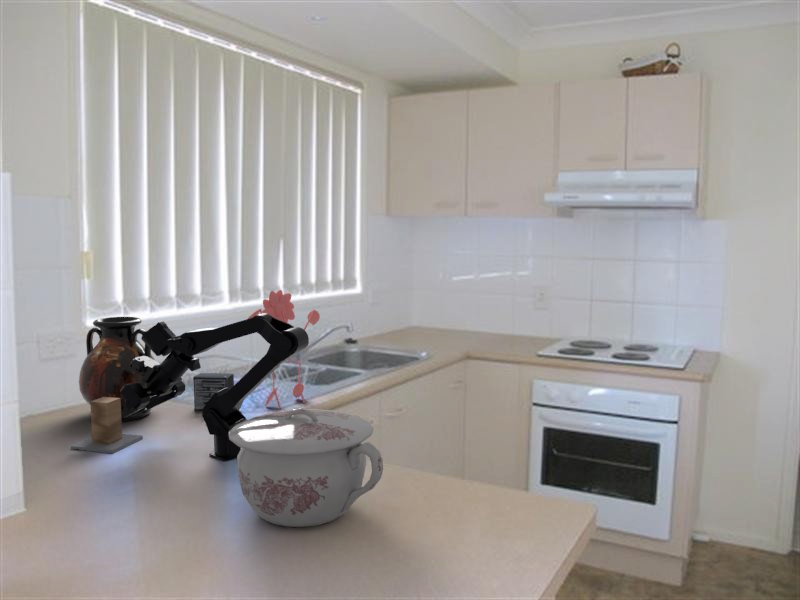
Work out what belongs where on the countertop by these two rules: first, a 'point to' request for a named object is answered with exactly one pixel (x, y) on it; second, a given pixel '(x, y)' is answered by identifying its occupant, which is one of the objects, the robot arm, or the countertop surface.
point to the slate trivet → (107, 448)
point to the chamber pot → (304, 464)
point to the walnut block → (106, 420)
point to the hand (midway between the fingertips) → (135, 412)
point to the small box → (209, 386)
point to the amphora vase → (112, 361)
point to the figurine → (283, 311)
